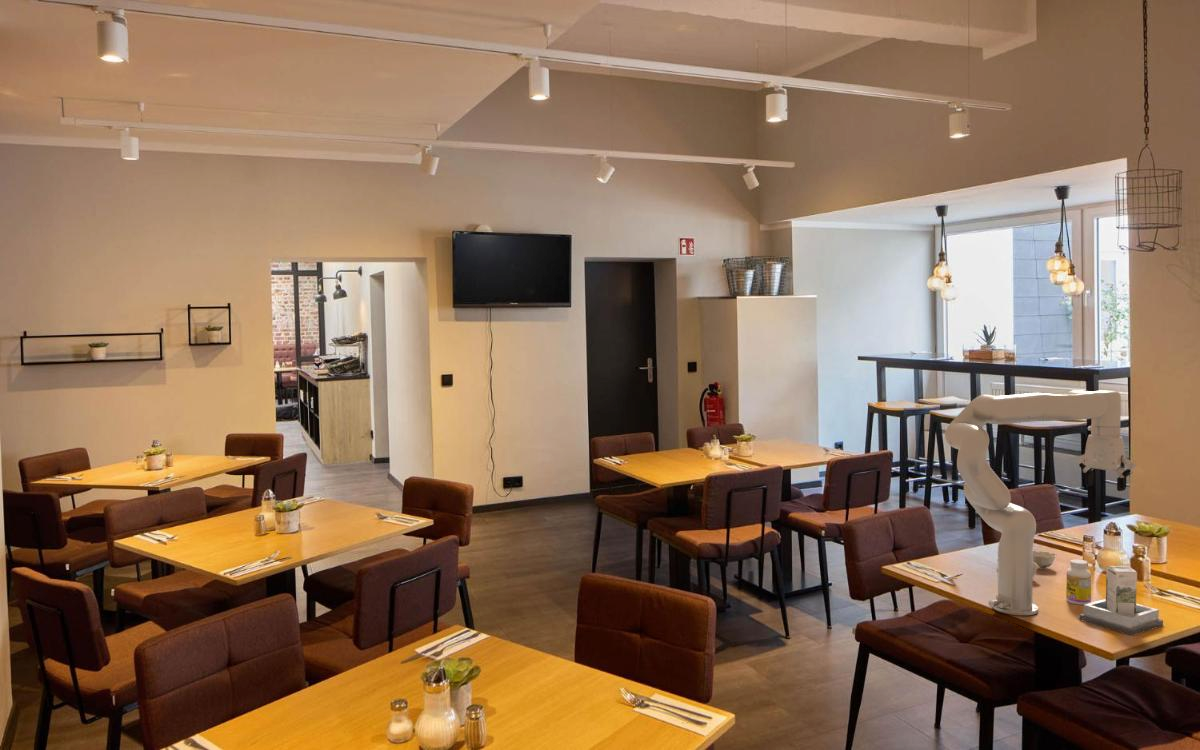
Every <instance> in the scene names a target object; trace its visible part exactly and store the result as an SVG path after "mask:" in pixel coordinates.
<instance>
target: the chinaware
mask: <svg viewBox="0 0 1200 750" xmlns="http://www.w3.org/2000/svg"><path fill="white" fill-rule="evenodd" d="M1056 557H1057V554H1056V553H1050V552H1049V551H1045V550H1040V551H1036V550H1033V578H1034V577H1035V576H1036V574H1037V572H1038V570H1042V569H1044V570H1043V571H1045V570H1048V568H1049V567H1051V566H1052V565H1053V563H1054V561H1055V559H1056ZM997 562H998V558H997Z"/></svg>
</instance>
